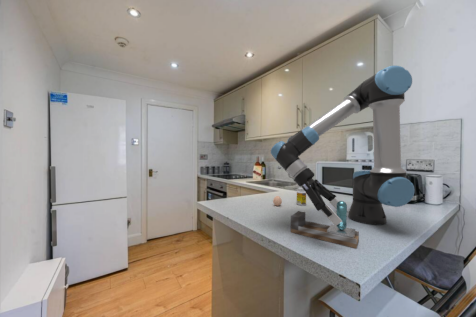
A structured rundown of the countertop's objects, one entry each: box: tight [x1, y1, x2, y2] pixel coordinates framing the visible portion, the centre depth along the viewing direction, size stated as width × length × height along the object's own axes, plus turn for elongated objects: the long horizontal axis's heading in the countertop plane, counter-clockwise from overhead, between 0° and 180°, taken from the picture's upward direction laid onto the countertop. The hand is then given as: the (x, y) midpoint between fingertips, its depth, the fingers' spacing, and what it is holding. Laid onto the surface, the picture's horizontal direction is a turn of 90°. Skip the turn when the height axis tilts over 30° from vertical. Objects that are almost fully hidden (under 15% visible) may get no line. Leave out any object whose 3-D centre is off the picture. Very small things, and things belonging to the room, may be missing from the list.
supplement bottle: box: [296, 187, 307, 206], centre depth 120 cm, size 6×6×10 cm
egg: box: [272, 195, 283, 207], centre depth 117 cm, size 5×5×6 cm
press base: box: [290, 210, 360, 249], centre depth 73 cm, size 22×8×6 cm, turn 54°
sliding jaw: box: [327, 200, 356, 238], centre depth 69 cm, size 8×7×12 cm
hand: (342, 218), depth 68 cm, fingers open, 13 cm apart
